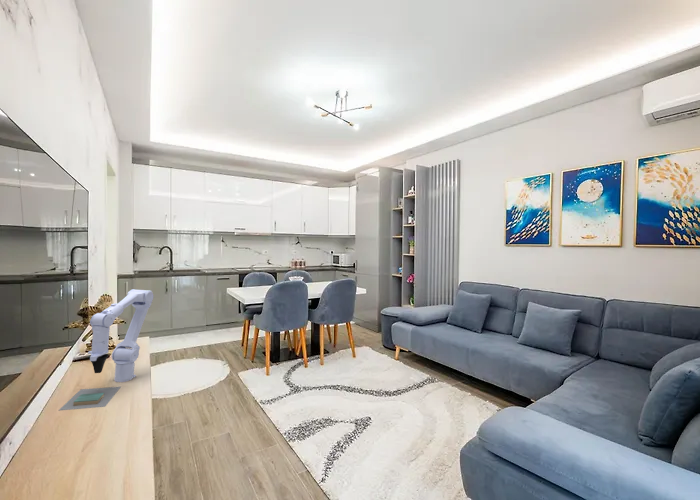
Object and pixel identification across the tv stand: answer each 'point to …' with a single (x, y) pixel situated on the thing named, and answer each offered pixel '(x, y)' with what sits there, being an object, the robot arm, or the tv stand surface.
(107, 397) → the mat
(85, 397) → the tile
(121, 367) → the robot arm
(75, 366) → the tv stand surface
